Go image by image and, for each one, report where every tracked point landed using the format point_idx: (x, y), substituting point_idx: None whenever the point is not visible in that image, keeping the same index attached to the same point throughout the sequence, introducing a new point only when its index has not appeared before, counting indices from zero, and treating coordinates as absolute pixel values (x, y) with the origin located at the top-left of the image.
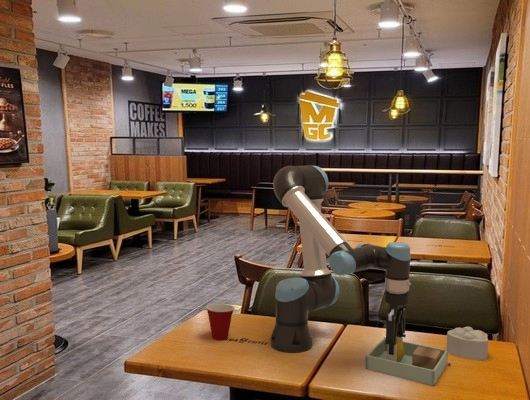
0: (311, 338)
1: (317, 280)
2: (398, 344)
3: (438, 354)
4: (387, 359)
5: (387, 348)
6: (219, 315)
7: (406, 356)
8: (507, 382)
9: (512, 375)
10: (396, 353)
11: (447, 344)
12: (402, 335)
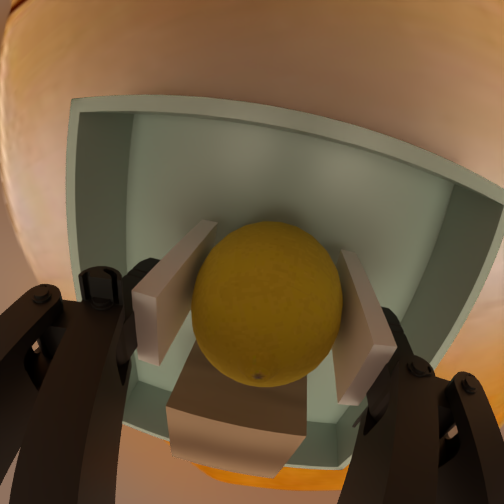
0: None
1: None
2: (217, 367)
3: (230, 469)
4: (195, 227)
5: (236, 244)
6: None
7: (392, 306)
8: (265, 480)
9: (306, 485)
10: (186, 313)
11: (448, 432)
12: (364, 421)
